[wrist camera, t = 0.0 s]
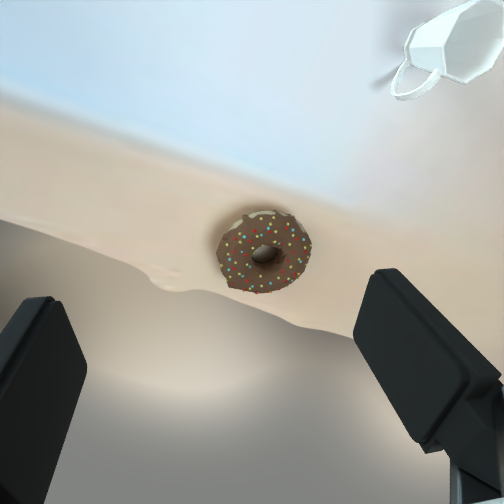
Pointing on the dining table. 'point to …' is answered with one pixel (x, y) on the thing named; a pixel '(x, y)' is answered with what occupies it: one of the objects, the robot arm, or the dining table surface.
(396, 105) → the dining table surface
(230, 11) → the dining table surface
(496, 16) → the cup
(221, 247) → the donut
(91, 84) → the dining table surface
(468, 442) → the robot arm
